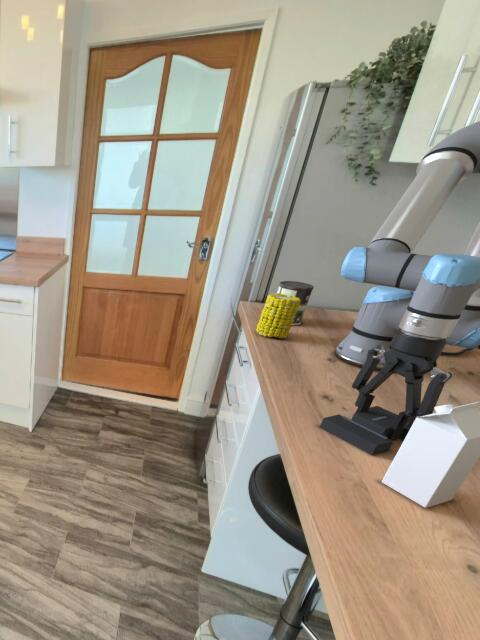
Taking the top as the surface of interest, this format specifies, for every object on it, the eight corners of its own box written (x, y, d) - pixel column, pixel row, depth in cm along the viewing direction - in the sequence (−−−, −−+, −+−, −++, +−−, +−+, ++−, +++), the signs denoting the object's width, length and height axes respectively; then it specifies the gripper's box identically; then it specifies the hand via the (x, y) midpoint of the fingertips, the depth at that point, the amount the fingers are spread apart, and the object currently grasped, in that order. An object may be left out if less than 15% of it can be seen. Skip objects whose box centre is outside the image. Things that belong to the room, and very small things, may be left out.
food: (249, 338, 151) (265, 333, 156) (287, 341, 141) (302, 337, 146) (253, 294, 148) (268, 291, 153) (292, 295, 138) (307, 292, 143)
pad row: (372, 414, 104) (377, 404, 103) (428, 440, 94) (433, 430, 93) (319, 426, 99) (323, 417, 98) (371, 455, 90) (377, 444, 89)
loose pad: (368, 419, 100) (373, 408, 99) (400, 435, 94) (406, 423, 93) (348, 424, 98) (354, 413, 97) (380, 440, 93) (386, 428, 91)
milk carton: (451, 500, 78) (509, 412, 70) (424, 508, 76) (480, 419, 68) (406, 475, 84) (454, 391, 76) (380, 482, 82) (426, 397, 74)
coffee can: (300, 319, 164) (313, 283, 158) (301, 327, 156) (314, 289, 150) (268, 314, 169) (279, 279, 163) (268, 322, 161) (279, 285, 155)
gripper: (357, 319, 93) (319, 409, 104) (473, 354, 77) (414, 457, 87) (381, 316, 95) (341, 404, 106) (499, 349, 79) (438, 451, 89)
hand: (374, 428), depth 96 cm, fingers closed on loose pad, 6 cm apart
